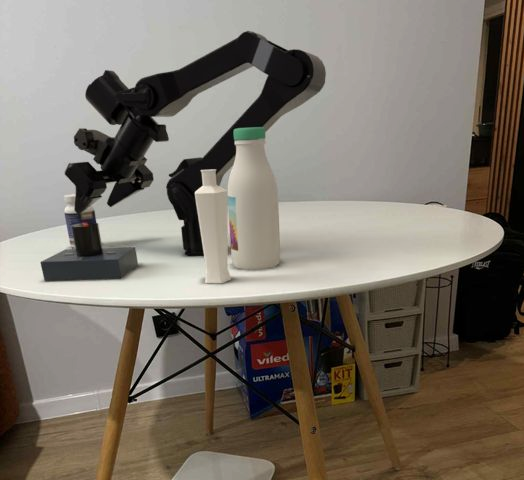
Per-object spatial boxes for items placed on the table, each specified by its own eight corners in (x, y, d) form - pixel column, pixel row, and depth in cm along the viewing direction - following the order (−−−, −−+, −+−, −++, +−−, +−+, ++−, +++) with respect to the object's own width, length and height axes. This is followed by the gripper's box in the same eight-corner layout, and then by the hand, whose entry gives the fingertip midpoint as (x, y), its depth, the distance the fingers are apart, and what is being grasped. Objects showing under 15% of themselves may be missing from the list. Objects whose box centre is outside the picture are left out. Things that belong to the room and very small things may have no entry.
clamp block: (138, 264, 84) (135, 245, 82) (121, 278, 75) (117, 258, 74) (68, 266, 84) (64, 248, 83) (44, 281, 76) (39, 260, 75)
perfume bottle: (207, 286, 69) (196, 171, 63) (197, 279, 73) (187, 170, 67) (237, 281, 71) (230, 169, 65) (227, 274, 75) (219, 168, 69)
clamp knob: (74, 253, 80) (69, 222, 78) (100, 249, 81) (95, 219, 79) (78, 257, 76) (72, 225, 74) (105, 254, 78) (99, 222, 76)
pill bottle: (91, 248, 98) (81, 196, 94) (65, 248, 99) (54, 196, 95) (105, 242, 103) (96, 192, 99) (80, 243, 104) (71, 193, 100)
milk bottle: (287, 260, 82) (284, 126, 74) (268, 271, 75) (262, 126, 67) (245, 257, 85) (237, 128, 77) (223, 268, 78) (212, 129, 70)
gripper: (131, 112, 96) (97, 174, 105) (60, 110, 81) (26, 183, 89) (171, 154, 96) (133, 213, 105) (108, 160, 81) (70, 228, 89)
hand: (93, 208), depth 97 cm, fingers open, 9 cm apart
